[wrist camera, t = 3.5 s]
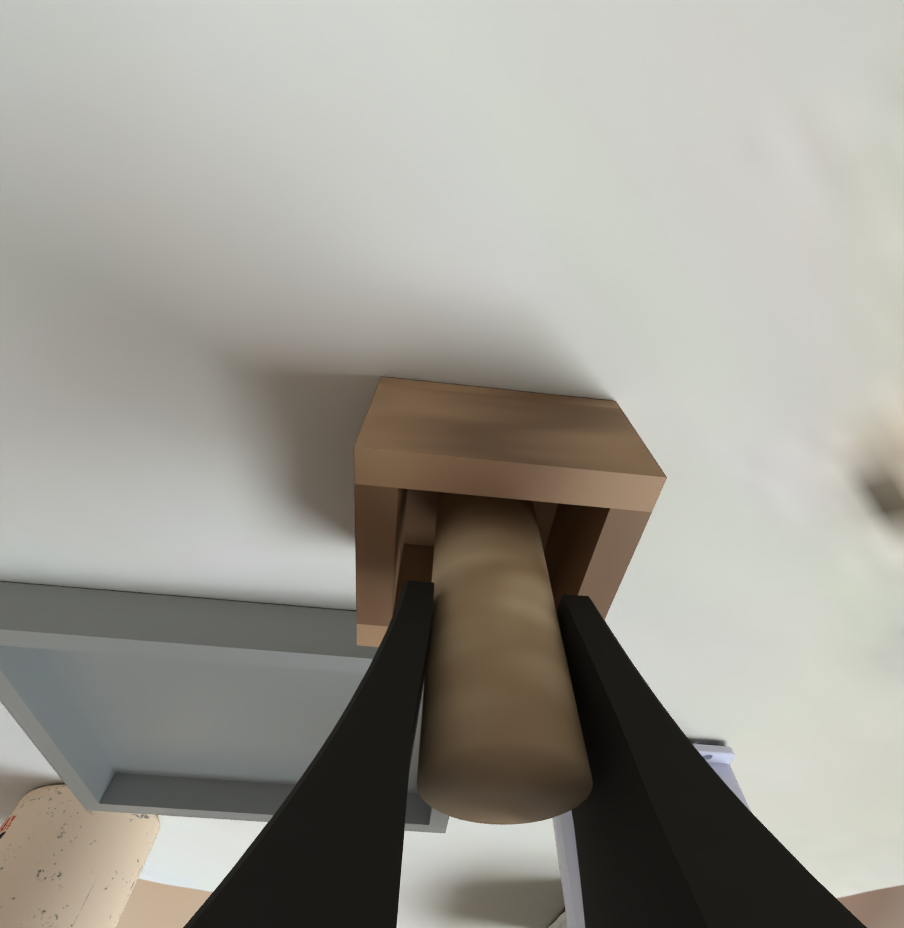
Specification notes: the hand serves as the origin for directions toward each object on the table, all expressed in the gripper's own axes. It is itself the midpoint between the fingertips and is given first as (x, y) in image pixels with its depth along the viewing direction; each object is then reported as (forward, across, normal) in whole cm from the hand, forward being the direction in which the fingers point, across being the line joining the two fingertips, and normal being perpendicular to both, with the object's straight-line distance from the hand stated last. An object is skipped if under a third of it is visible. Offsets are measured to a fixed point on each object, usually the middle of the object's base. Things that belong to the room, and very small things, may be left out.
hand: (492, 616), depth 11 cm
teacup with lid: (+6, +22, +31) cm, 38 cm away
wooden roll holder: (+5, 0, 0) cm, 5 cm away
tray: (+5, +9, +15) cm, 18 cm away
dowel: (+4, 0, 0) cm, 4 cm away
